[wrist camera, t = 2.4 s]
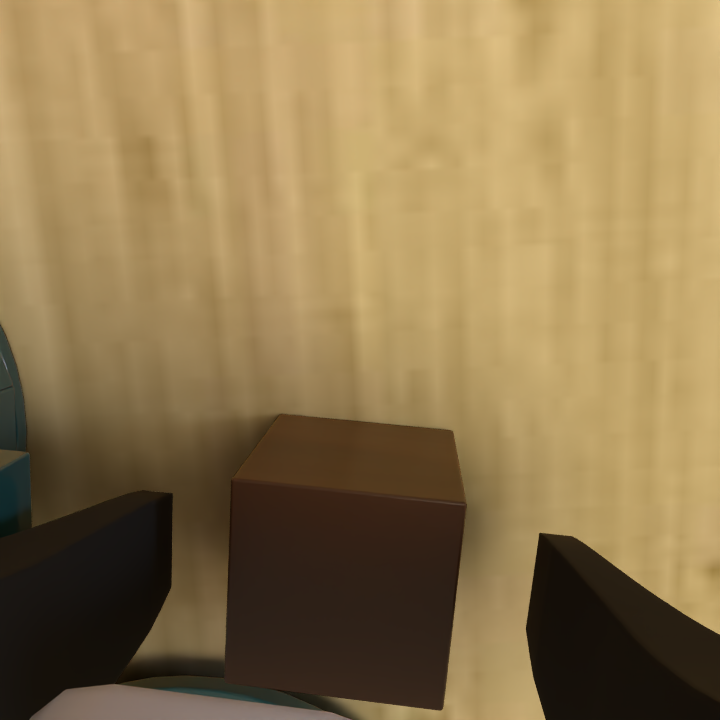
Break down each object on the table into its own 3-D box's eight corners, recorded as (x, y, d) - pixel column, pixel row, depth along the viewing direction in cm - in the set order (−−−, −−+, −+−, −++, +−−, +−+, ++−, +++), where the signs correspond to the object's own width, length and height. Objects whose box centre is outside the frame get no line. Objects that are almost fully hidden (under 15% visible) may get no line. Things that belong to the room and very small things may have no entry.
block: (436, 589, 15) (443, 712, 11) (272, 570, 16) (223, 684, 12) (453, 429, 14) (467, 503, 11) (279, 412, 15) (230, 478, 11)
